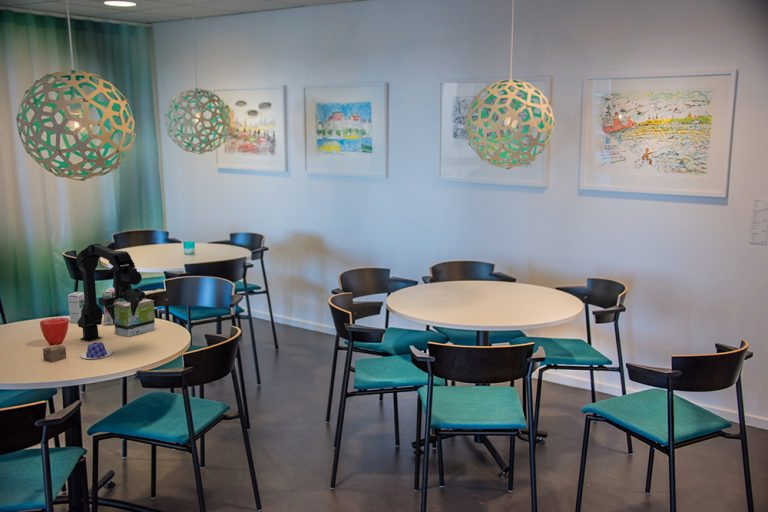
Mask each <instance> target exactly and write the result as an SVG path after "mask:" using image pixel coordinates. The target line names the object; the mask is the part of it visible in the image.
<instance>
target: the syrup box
mask: <svg viewBox="0 0 768 512" xmlns="http://www.w3.org/2000/svg"><path fill="white" fill-rule="evenodd" d="M67 299H68V300H67V301H68V312H69V322H70V323H71V324H78V323H77V322H78V320H79V319H80V317H81V310H82V308H83V306H84V305H85V301H84V291H74V292H73V293H69V294H67Z"/></svg>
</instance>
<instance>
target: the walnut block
mask: <svg viewBox="0 0 768 512" xmlns="http://www.w3.org/2000/svg"><path fill="white" fill-rule="evenodd" d="M42 356H43V361H46V362H50V363H57V362H58V361H59V362H60V361H62V360H66V359H67V350H66V346H63V345H58V344H54V345H50V346H46V347H43V348H42Z"/></svg>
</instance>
